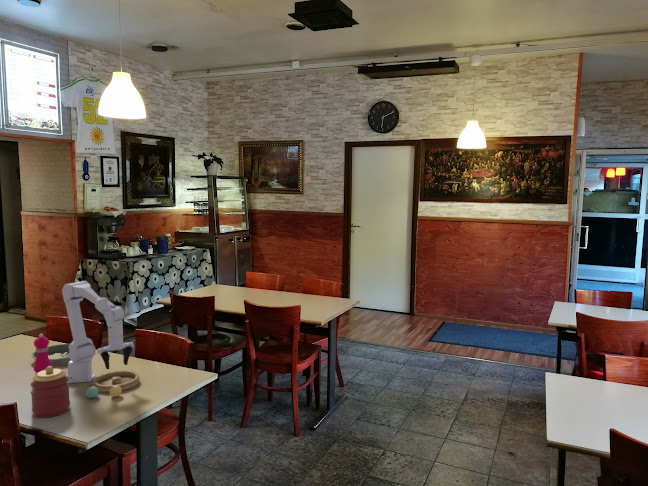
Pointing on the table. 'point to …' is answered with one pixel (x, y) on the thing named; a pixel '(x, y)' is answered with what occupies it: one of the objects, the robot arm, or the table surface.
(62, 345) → the cake pan
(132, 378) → the groove tray
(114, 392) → the bead ochre
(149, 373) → the table surface
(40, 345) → the pepper mill
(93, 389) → the bead teal
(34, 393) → the canister
